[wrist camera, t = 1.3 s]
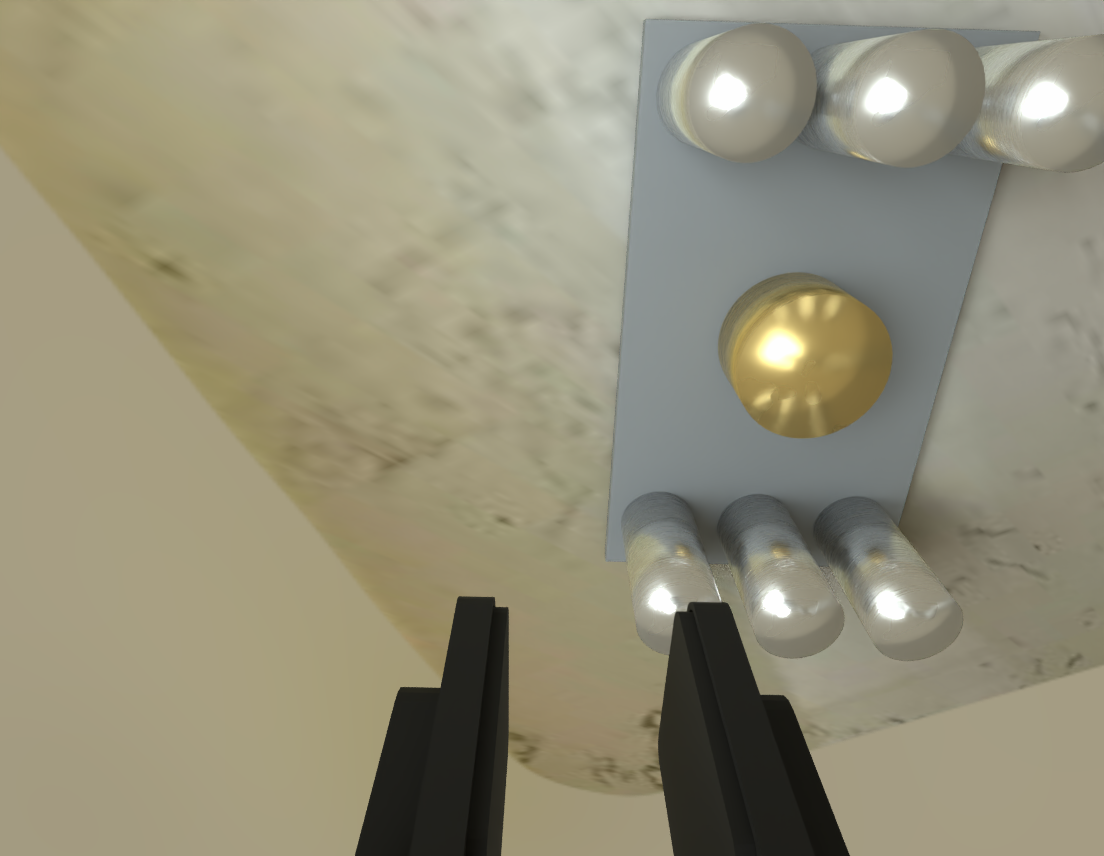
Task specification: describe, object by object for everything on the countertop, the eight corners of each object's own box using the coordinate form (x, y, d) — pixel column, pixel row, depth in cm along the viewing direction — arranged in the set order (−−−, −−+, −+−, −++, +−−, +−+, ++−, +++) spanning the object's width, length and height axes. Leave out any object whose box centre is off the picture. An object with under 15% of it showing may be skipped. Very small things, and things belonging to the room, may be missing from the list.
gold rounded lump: (870, 274, 25) (909, 297, 22) (840, 405, 27) (873, 440, 24) (727, 270, 24) (749, 292, 22) (709, 401, 27) (727, 436, 24)
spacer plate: (1028, 32, 22) (1040, 31, 21) (880, 559, 31) (886, 567, 30) (643, 21, 22) (645, 19, 21) (604, 552, 30) (605, 561, 30)
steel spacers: (1019, 49, 22) (1175, 36, 16) (877, 557, 30) (949, 662, 24) (660, 38, 21) (697, 20, 16) (618, 552, 30) (632, 654, 24)
